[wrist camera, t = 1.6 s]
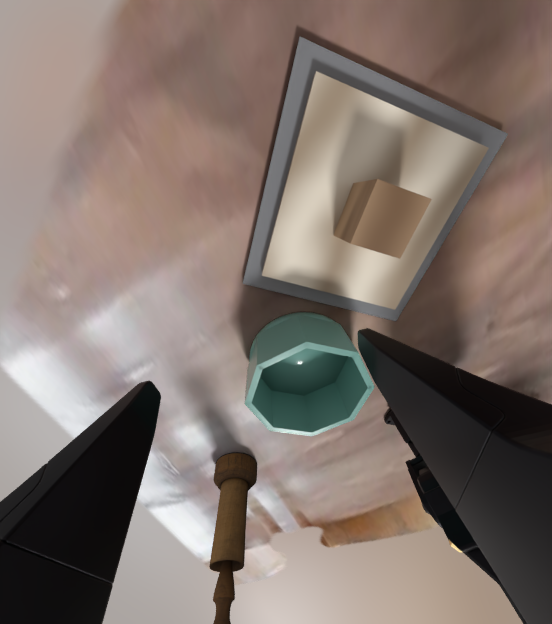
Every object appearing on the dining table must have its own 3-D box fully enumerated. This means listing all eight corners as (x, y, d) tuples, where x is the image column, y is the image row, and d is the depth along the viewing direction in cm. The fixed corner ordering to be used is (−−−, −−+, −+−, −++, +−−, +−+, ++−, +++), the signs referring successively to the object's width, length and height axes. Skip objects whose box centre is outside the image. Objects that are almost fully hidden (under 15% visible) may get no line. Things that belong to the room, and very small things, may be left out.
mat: (500, 135, 17) (508, 133, 17) (393, 318, 25) (396, 321, 24) (298, 42, 14) (299, 36, 14) (243, 281, 22) (242, 283, 21)
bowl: (366, 324, 25) (395, 358, 20) (327, 398, 30) (341, 441, 25) (264, 300, 23) (264, 330, 18) (240, 384, 28) (235, 427, 23)
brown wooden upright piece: (207, 464, 35) (161, 687, 19) (236, 446, 33) (213, 674, 17) (236, 480, 38) (218, 688, 22) (265, 464, 36) (268, 676, 20)
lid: (479, 150, 17) (551, 133, 13) (390, 306, 23) (420, 330, 19) (313, 77, 15) (334, 27, 11) (261, 272, 21) (262, 292, 16)
